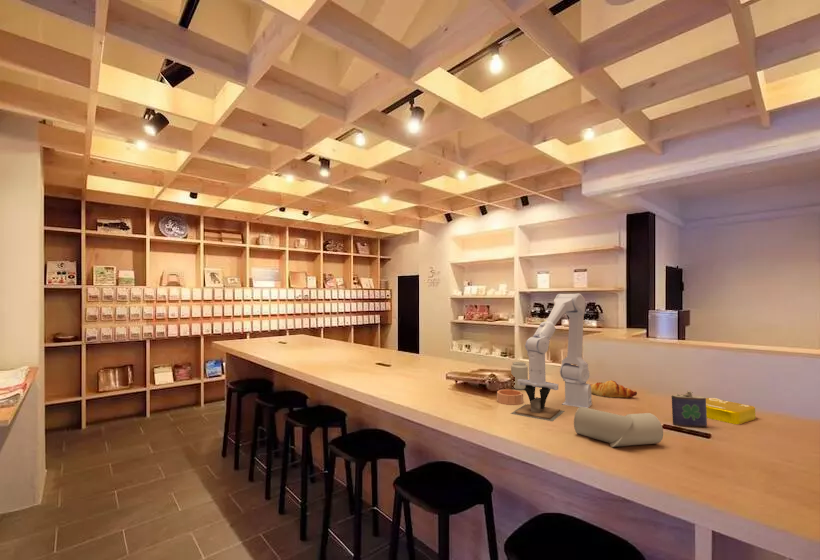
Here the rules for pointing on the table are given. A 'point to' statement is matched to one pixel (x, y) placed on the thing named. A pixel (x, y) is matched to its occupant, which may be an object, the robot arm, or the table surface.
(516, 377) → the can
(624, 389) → the croissant
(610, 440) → the bent grey cylinder
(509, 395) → the bowl
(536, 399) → the lid
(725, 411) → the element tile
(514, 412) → the mat
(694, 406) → the flask
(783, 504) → the table surface
